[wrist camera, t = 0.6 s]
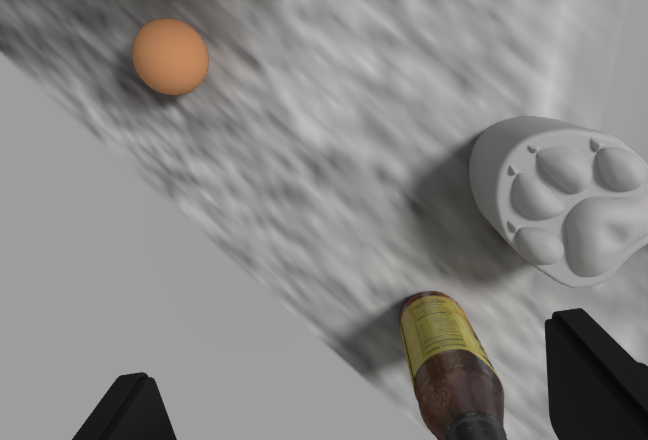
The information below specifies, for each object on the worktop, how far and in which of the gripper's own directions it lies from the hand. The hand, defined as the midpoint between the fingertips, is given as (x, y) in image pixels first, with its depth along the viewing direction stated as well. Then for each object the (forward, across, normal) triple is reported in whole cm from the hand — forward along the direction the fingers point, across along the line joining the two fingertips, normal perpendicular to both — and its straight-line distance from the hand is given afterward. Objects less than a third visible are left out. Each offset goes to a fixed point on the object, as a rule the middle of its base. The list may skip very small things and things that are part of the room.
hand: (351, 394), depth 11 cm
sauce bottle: (+31, -6, +16) cm, 35 cm away
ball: (+27, +11, -11) cm, 31 cm away
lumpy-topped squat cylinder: (+31, -16, +5) cm, 35 cm away
